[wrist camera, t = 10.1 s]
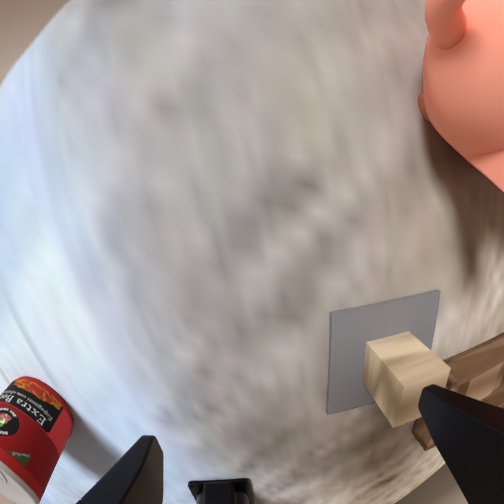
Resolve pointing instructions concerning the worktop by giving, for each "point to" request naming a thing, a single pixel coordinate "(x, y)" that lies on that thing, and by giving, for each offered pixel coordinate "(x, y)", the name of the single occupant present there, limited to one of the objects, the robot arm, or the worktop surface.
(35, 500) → the canned food
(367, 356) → the maple block
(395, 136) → the worktop surface
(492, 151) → the teapot
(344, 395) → the rubber mat
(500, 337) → the box
